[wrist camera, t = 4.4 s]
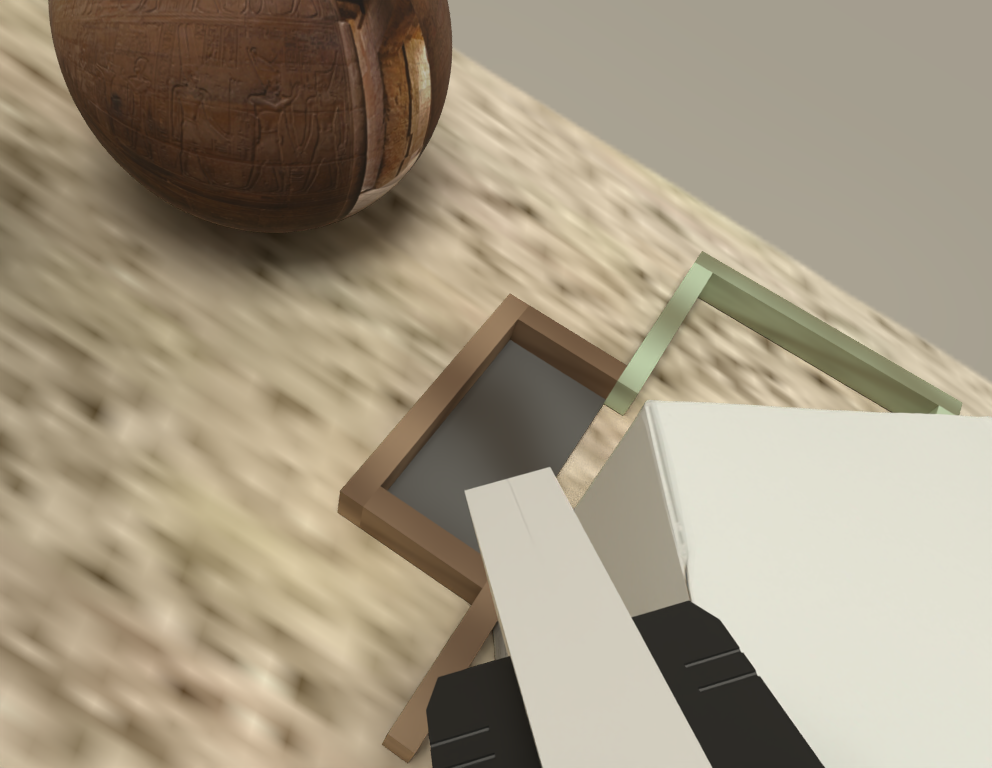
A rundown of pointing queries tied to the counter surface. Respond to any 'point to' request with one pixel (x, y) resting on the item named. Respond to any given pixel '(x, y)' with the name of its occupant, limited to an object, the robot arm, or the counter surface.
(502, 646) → the supplement box
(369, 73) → the wooden sphere
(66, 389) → the counter surface
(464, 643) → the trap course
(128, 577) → the counter surface
